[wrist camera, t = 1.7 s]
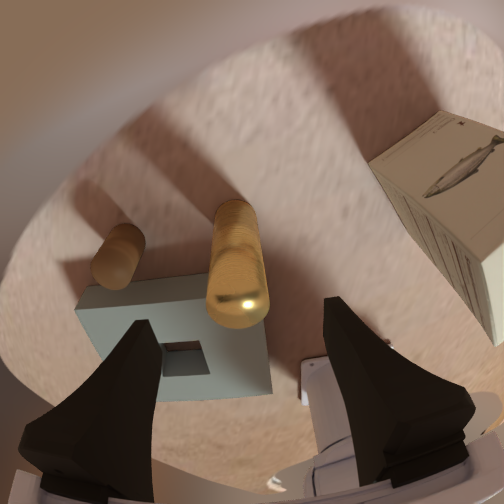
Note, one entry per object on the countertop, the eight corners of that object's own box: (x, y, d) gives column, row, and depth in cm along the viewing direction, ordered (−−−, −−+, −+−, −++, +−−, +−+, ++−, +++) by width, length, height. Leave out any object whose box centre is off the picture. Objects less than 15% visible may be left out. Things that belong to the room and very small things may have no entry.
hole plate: (256, 266, 24) (259, 291, 21) (269, 369, 30) (272, 393, 27) (86, 286, 24) (74, 310, 21) (134, 378, 30) (129, 401, 28)
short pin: (139, 220, 21) (123, 249, 18) (149, 255, 23) (137, 287, 19) (105, 226, 22) (84, 255, 18) (116, 259, 23) (99, 291, 20)
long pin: (253, 197, 21) (266, 275, 13) (258, 234, 23) (272, 324, 15) (211, 202, 21) (199, 284, 13) (218, 239, 23) (212, 331, 15)
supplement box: (439, 106, 18) (582, 161, 7) (472, 185, 21) (581, 271, 10) (362, 161, 20) (480, 262, 9) (405, 236, 23) (496, 352, 12)
